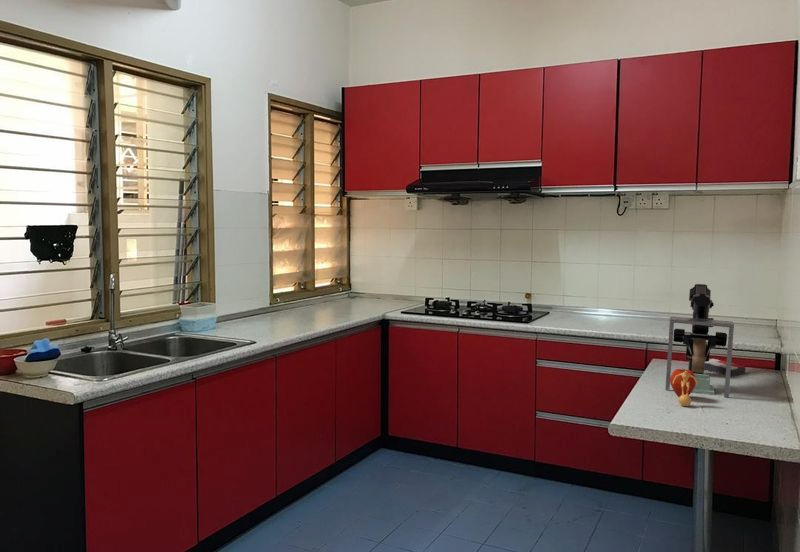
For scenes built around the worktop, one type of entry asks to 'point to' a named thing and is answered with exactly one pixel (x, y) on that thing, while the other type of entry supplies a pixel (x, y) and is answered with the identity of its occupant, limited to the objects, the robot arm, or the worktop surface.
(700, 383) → the socket block
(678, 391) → the apple
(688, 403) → the figurine
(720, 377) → the worktop surface
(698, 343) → the peg
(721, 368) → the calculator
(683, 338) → the robot arm
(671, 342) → the grey table frame
